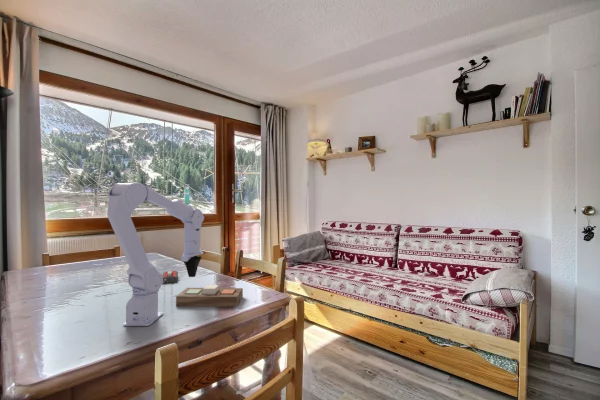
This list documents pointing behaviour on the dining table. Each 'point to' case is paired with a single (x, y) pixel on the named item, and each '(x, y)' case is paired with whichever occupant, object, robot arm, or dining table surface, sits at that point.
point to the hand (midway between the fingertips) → (192, 276)
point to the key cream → (210, 289)
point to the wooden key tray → (209, 298)
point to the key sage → (194, 291)
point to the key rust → (228, 292)
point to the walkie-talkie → (170, 276)
